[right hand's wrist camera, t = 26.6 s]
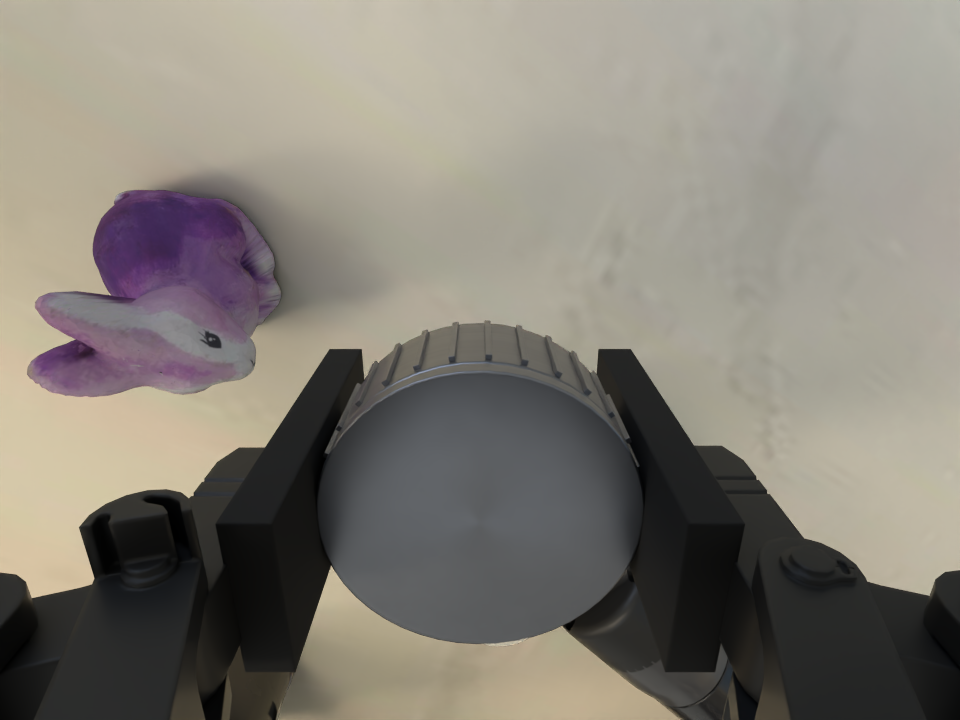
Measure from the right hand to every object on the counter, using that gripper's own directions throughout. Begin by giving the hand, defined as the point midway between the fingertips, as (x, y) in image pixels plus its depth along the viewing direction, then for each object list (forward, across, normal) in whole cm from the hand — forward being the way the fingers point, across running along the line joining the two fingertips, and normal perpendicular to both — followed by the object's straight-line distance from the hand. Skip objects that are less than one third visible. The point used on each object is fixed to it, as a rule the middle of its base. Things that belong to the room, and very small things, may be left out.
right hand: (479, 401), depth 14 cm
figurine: (+25, -16, -2) cm, 30 cm away
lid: (-4, 0, 0) cm, 4 cm away
